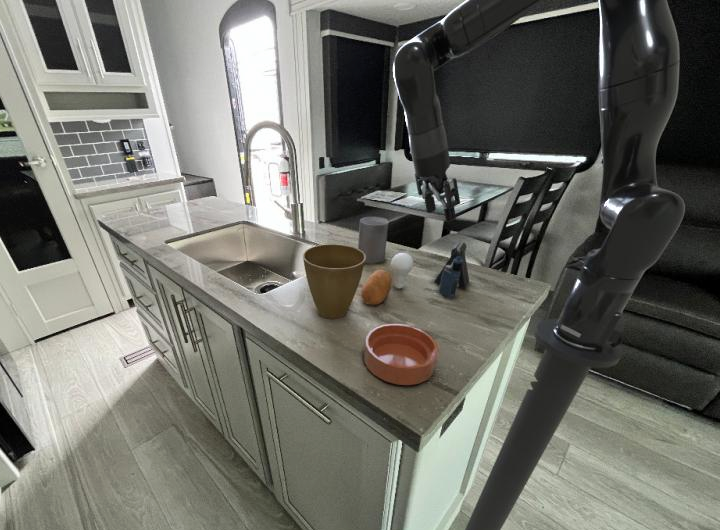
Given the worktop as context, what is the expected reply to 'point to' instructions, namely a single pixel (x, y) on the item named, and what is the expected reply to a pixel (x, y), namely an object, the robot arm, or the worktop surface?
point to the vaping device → (451, 278)
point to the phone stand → (464, 272)
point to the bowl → (400, 354)
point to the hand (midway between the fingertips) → (440, 216)
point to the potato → (376, 287)
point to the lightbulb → (401, 268)
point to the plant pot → (333, 277)
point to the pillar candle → (373, 238)
